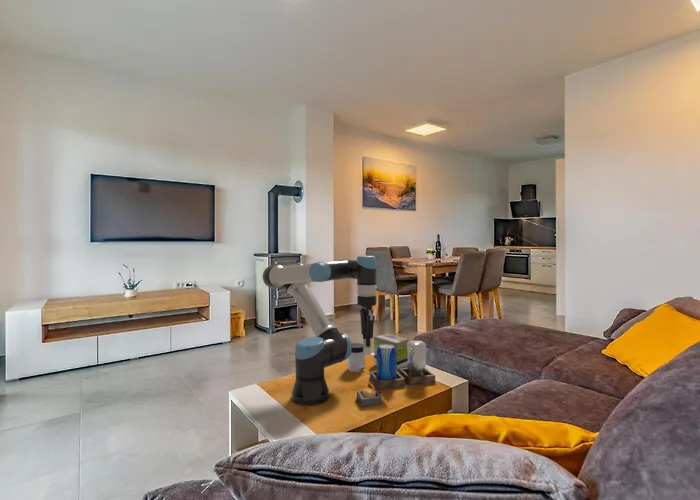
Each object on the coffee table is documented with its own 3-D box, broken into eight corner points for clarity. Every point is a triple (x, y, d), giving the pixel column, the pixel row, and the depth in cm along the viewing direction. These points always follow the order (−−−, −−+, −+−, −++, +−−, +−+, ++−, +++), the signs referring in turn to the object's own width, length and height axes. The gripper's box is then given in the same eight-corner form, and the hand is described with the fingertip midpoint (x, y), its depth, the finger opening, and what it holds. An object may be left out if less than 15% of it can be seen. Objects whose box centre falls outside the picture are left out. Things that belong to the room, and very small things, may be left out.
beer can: (395, 387, 151) (395, 349, 151) (375, 385, 153) (375, 348, 153) (397, 379, 160) (397, 343, 159) (378, 378, 161) (378, 342, 161)
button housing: (362, 407, 137) (362, 399, 137) (356, 398, 145) (356, 390, 145) (382, 404, 139) (382, 396, 139) (375, 395, 147) (375, 388, 147)
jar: (366, 371, 173) (366, 347, 173) (350, 373, 172) (349, 348, 171) (362, 365, 182) (361, 342, 182) (346, 367, 180) (345, 343, 180)
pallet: (379, 393, 149) (379, 382, 148) (369, 380, 162) (369, 371, 162) (436, 386, 155) (436, 376, 155) (422, 374, 168) (422, 365, 168)
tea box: (373, 365, 182) (373, 336, 182) (386, 360, 189) (386, 332, 189) (396, 373, 171) (395, 342, 171) (409, 367, 178) (409, 338, 177)
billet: (412, 383, 155) (411, 346, 155) (404, 376, 163) (404, 341, 163) (428, 381, 157) (428, 344, 157) (421, 374, 165) (420, 339, 165)
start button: (364, 402, 139) (364, 394, 139) (361, 396, 144) (361, 389, 144) (377, 400, 140) (377, 393, 140) (373, 395, 145) (373, 387, 145)
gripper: (381, 297, 136) (381, 358, 137) (371, 292, 148) (371, 348, 149) (362, 298, 134) (362, 360, 135) (353, 292, 147) (353, 349, 147)
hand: (367, 354), depth 142 cm, fingers closed
